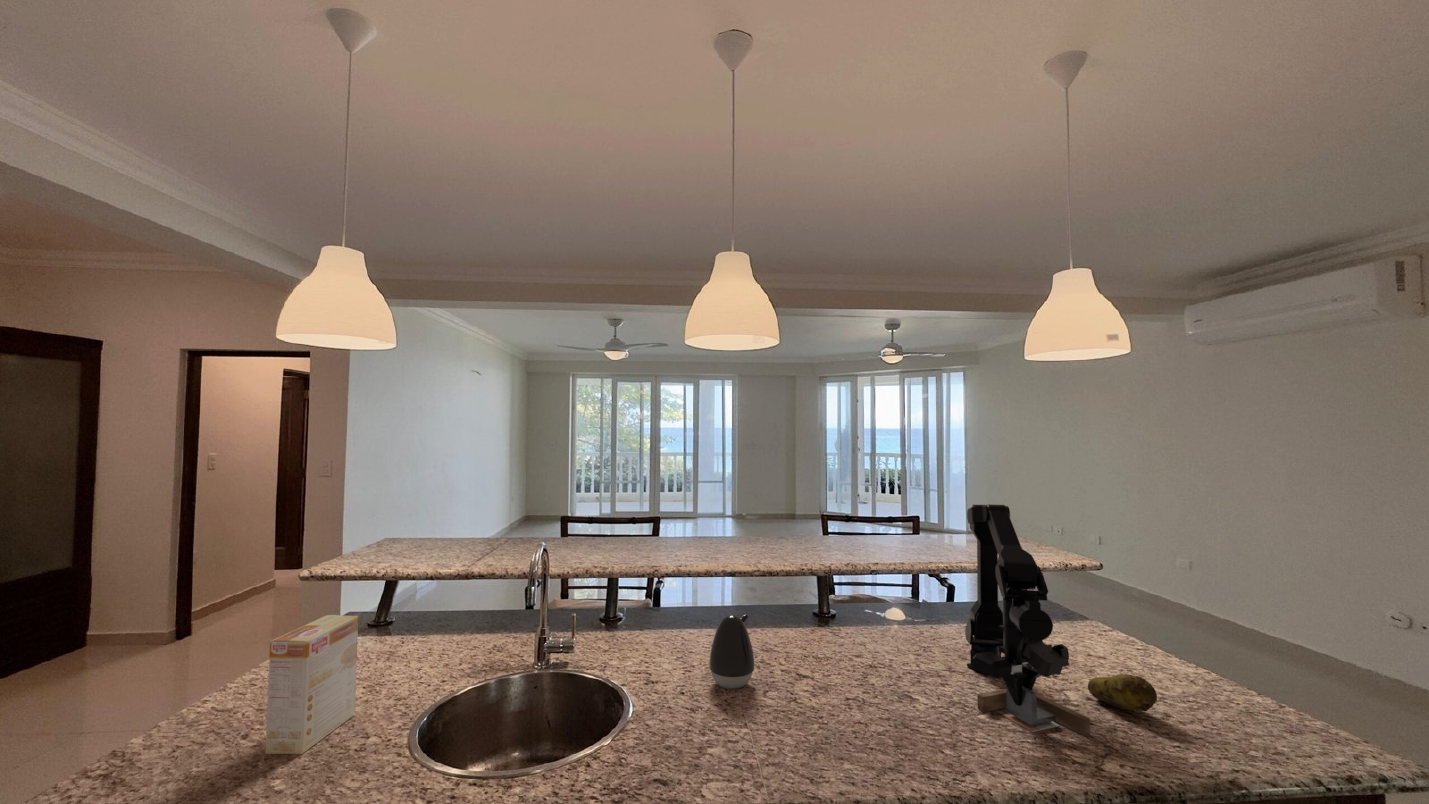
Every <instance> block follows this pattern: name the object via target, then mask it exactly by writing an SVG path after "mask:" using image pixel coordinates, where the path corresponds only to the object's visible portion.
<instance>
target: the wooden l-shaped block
mask: <svg viewBox="0 0 1429 804" xmlns="http://www.w3.org/2000/svg"><path fill="white" fill-rule="evenodd" d="M1036 698H1037V706H1038V707H1040V708H1041V709H1043V710H1045V711H1047V712H1049V713H1051V714H1053V715H1055V721H1054V722H1055V723H1057V724H1060V725H1061V726H1063V727H1066V728H1067V729H1070V730H1071V731H1073V732H1076V733H1078V734H1079V735H1081V736H1083V737H1089V736H1091V719H1090V717H1087V716H1085V715H1083V714H1081V713H1079V712H1077V711H1075V710H1072V709H1070V708H1069V707H1066V706H1064V705H1062V704H1061V703H1058V702H1056V701H1053V700H1052V699H1050V698H1047V697H1046V696H1043V695H1041V694H1039V693H1037V692H1036ZM976 700H977V710H978V711H980V712H982V713H988V712H992V711H996V710H1002V709H1007V693H1006V688H1003V689H996V690H992V691H987V692H982V693H978V694H977V699H976Z"/></svg>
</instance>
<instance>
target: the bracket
mask: <svg viewBox="0 0 1429 804" xmlns="http://www.w3.org/2000/svg"><path fill="white" fill-rule="evenodd" d="M1005 686H1006V685H1005ZM1005 689H1006V693H1007V708H1006V713H1007V714H1008V713H1010V714H1012V715H1013V716H1015V717H1017V718H1019V719H1021V720H1023V721H1024V722H1026V723H1028V724H1030V725H1032V726H1034V725H1038V724H1043V723H1047V722H1056V721H1055V715H1053V714H1051V713H1049V712H1047V711H1045V710H1043V709H1041V708H1040V707H1038V706H1037V698H1036V693H1037V692H1036V691H1033V689H1032V690H1030V689H1027V688H1025V687H1023V686H1022V700H1021V706H1018V705H1016V704H1015V703H1014V701H1013V699H1012V697H1011V694H1010V692H1009V690H1008V688H1007V686H1006V688H1005Z"/></svg>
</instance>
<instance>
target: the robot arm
mask: <svg viewBox="0 0 1429 804" xmlns="http://www.w3.org/2000/svg"><path fill="white" fill-rule="evenodd" d="M966 516H967V517H966V519H967V523H968V524H969V529H970V531H971V532H972V534H973V535H974V538H975V539H976V556H977V557H976V567H977V568H976V570H977V571H976V572H977V573H976V574H977V576H976V579H977V582H976V583H977V587H976V588H977V589H976V590H977V596H976V597H977V600H976V601H975V603H974V605H972V607H971V608H970V610H969V611H970V613H969V614H970V615H969V618H968V619H967V622H966V625H965V628H964V632H965V633H964V634H965V640H966V642H967V643H968V645H969V646H970V647H971V649H970V655H969V656H970V662H968V663H966V667H968V668H969V669H970V668H971V669H972V670H974V671H977V672H978V673H980V674H983V675H984V676H990V677H992V678H994V679H1002V680H1003V682H1004V684H1005V686H1007V688H1008V690H1009V692H1010V694H1011V697H1012V699H1013V701H1014V703H1015V704H1016V705H1018V706H1021V700H1022V686H1023V687H1025V688H1027V689H1030V690H1032V691H1033V689H1034V686H1035V683H1036V681H1037V679H1038V678H1039V677H1041V676H1042V677H1044V678H1048V677H1051V676H1060V675H1061V673H1062V671H1063V668H1065V667H1067V666H1069V665H1070V662H1069V659H1070V655H1069V653H1070V652H1069V647H1067V646H1066V645H1064V644H1062V643H1059V644H1054V645H1051V644H1046V643H1045V642H1044V641H1043V640H1046V639H1048V638H1049V637H1050V635H1051V634H1052V632H1053V627H1054V623H1053V621H1052V619H1051V616H1050V615H1049V614H1048V613H1047V612H1046V611H1045V610H1044V609H1042V607H1041V602H1040V601H1048V593H1049V588H1048V586H1047V582H1046V580H1045V577H1044V574H1043V572H1042V571H1041V567H1040V566H1039V565H1038V564H1037V562H1036V560H1035V559H1034V557H1033V555H1032V554H1031V553H1029V552H1028V551H1026V550H1025V549H1023V547H1022V545H1021V543H1020V540H1019V537H1018V534H1017V533H1016V530H1015V528H1014V527H1015V526H1014V525H1013V522H1012V519H1011V511H1010V508H1009V506H1008V505H1005V504H972V506H971V507H970V508H968V509H967V512H966ZM999 591H1000V595H1001V596H1002V610H1001V608H1000V606H999ZM1002 655H1004V656H1002Z"/></svg>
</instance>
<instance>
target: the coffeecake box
mask: <svg viewBox="0 0 1429 804" xmlns="http://www.w3.org/2000/svg"><path fill="white" fill-rule="evenodd" d="M358 632H359V615H342V614H327V615H324V616H321V617H320V618H318V619H316V620H313V621H311V622H309V623H307V624H304V625H302V626H300V627H298V628H296V629H293V630H291V631H289V632H287V633H285V634H283V635H280V636H278V637H276V638H274V639H271V640H269V654H268V656H269V659H268V661H269V662H268V681H267V683H268V685H267V704H266V705H267V706H266V726H265V727H266V728H265V730H266V731H265V735H266V736H265V752H264V753H265V755H266V754H267V755H268V754H269V755H280V754H281V755H303V754H304V753H306V751H308V750H310V749H311V748H312V747H313V746H315V745H316V744H317V743H319V742H320V741H321V740H323V739H324V738H325V737H327V736H328V735H330V734H331V733H332V732H333V731H335V730H337V729H338V728H339V727H340V726H342V725H343V724H344V723H346V722H347V721H348V720H350V719H351V718H353V717H354V716H355V715H356V693H357V692H356V691H357V689H356V688H357V669H358V668H357V666H358V663H357V660H358V637H359V636H358V635H359V634H358Z"/></svg>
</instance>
